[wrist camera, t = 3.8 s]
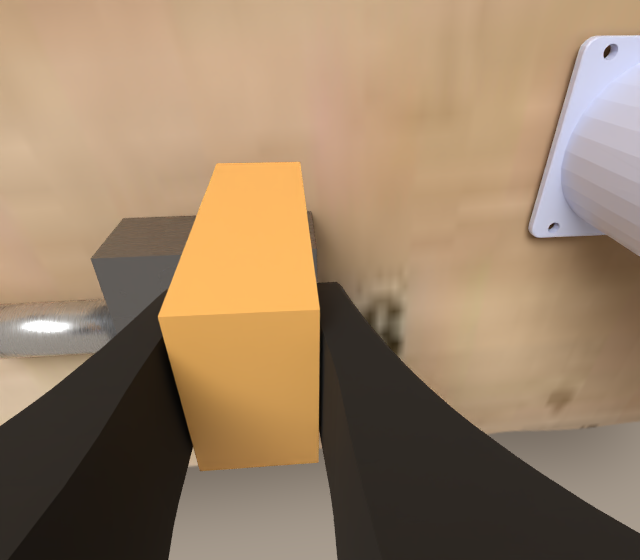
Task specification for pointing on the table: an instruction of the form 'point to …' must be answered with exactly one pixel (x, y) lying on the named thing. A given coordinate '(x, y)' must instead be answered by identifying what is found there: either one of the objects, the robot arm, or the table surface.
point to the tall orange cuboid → (247, 321)
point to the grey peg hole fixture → (105, 291)
